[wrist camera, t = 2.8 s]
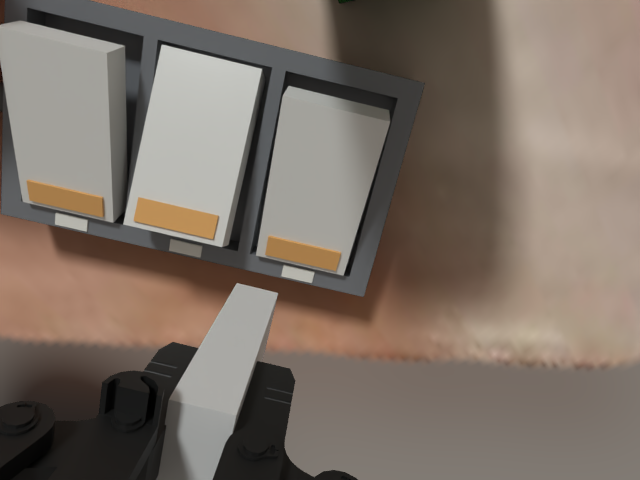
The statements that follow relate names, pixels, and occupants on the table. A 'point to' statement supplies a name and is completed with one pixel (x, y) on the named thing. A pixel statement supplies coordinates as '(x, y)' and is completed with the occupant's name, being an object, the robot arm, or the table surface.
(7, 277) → the table surface
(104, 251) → the table surface
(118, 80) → the rocker
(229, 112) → the rocker
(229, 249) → the grey compartment tray
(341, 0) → the milk carton
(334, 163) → the rocker
